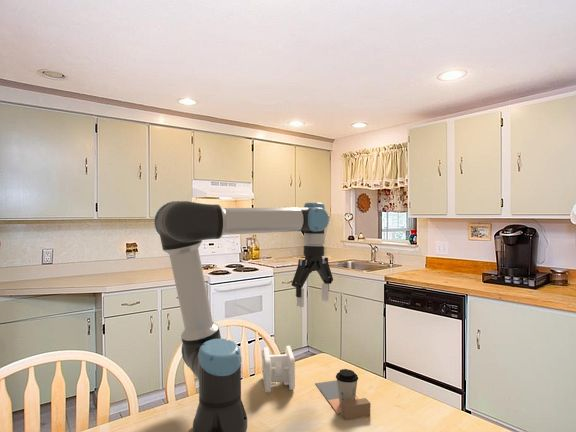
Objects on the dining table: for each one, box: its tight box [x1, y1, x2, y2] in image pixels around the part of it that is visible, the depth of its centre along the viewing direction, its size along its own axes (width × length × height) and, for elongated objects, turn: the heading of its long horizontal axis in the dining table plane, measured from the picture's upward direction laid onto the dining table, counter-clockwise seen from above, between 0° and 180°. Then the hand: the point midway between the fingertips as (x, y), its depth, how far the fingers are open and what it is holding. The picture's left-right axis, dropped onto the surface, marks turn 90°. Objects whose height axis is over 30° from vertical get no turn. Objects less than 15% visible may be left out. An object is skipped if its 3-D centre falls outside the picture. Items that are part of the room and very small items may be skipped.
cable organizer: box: [261, 345, 296, 393], centre depth 131 cm, size 15×11×12 cm
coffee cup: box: [335, 368, 359, 405], centre depth 118 cm, size 7×7×10 cm
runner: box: [315, 379, 371, 421], centre depth 122 cm, size 24×10×4 cm, turn 15°
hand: (312, 303), depth 137 cm, fingers open, 13 cm apart
